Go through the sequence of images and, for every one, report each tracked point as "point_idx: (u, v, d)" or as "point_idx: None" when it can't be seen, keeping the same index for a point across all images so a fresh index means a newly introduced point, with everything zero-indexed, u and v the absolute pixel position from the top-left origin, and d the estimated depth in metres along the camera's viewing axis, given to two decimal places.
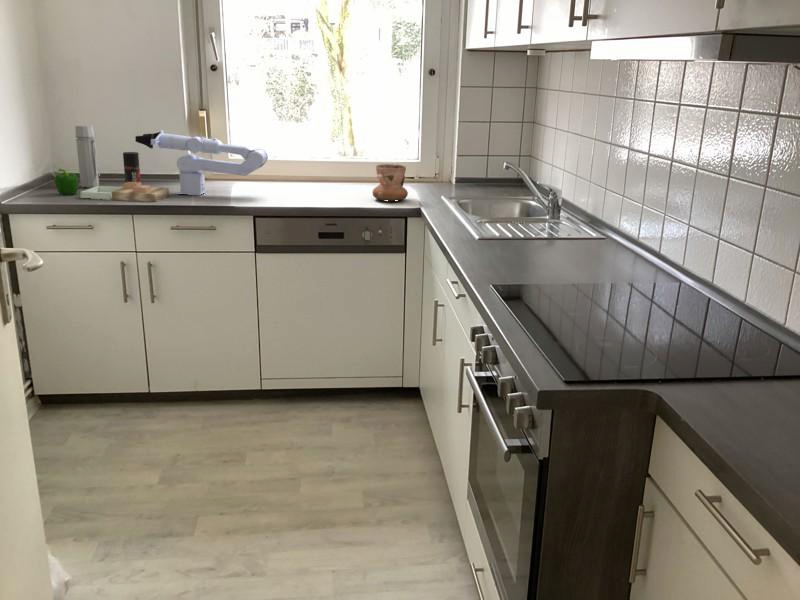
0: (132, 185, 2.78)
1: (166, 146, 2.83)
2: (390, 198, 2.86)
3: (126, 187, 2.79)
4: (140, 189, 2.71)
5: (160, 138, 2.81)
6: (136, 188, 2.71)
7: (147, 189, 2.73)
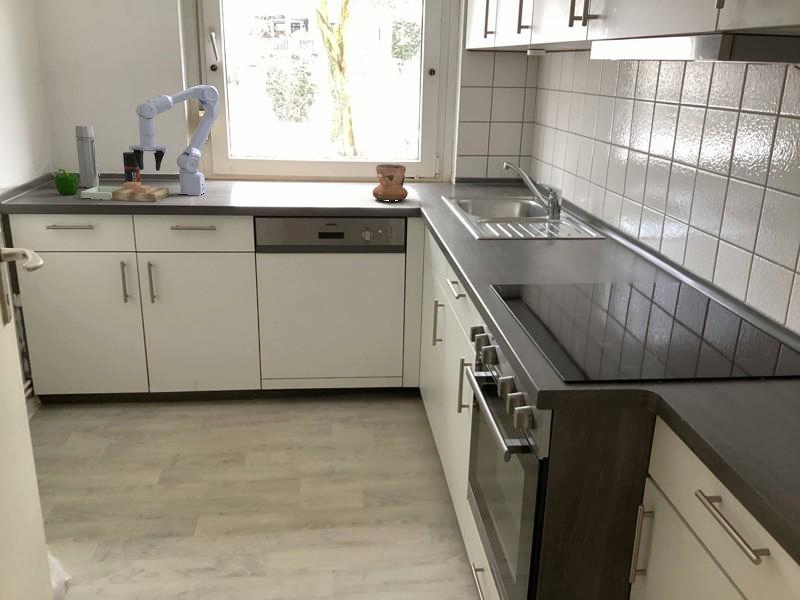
0: (132, 185, 2.78)
1: None
2: (390, 198, 2.86)
3: (126, 187, 2.79)
4: (140, 189, 2.71)
5: (153, 146, 2.74)
6: (136, 188, 2.71)
7: (147, 189, 2.73)
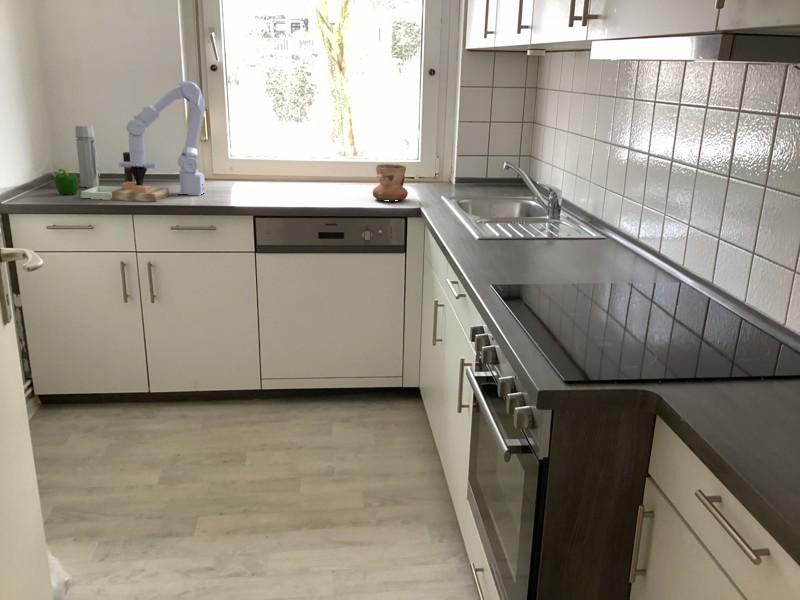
0: (131, 185, 2.78)
1: None
2: (390, 198, 2.86)
3: (124, 187, 2.79)
4: (140, 189, 2.71)
5: (143, 162, 2.77)
6: (136, 188, 2.71)
7: (147, 189, 2.73)
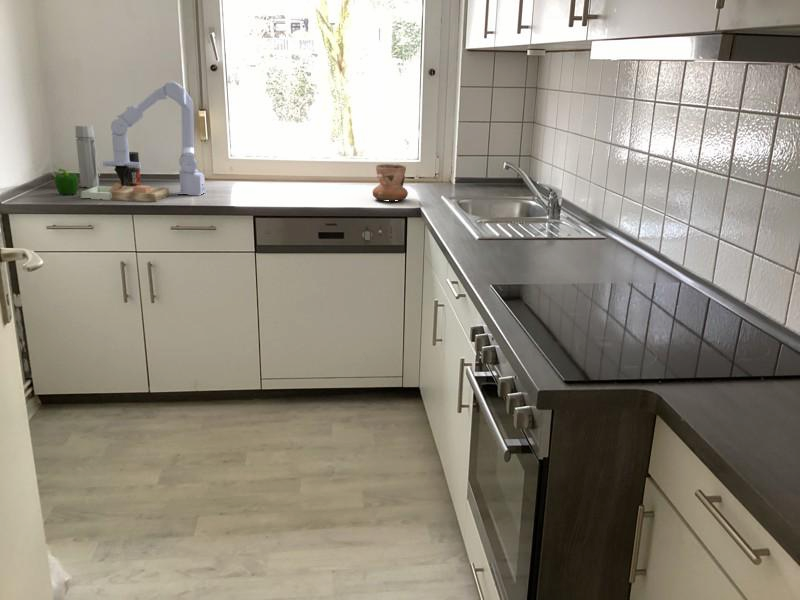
0: (115, 186, 2.78)
1: None
2: (390, 198, 2.86)
3: None
4: (140, 189, 2.71)
5: (127, 162, 2.77)
6: (136, 188, 2.71)
7: (147, 189, 2.73)
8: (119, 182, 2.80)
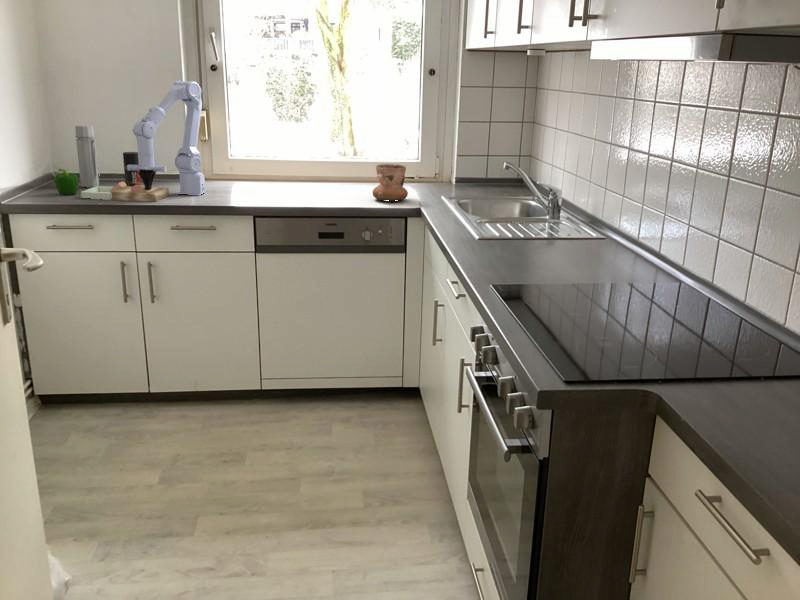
0: (116, 186, 2.78)
1: None
2: (390, 198, 2.86)
3: None
4: (138, 189, 2.71)
5: (152, 165, 2.70)
6: (134, 188, 2.71)
7: (145, 189, 2.73)
8: (121, 183, 2.80)
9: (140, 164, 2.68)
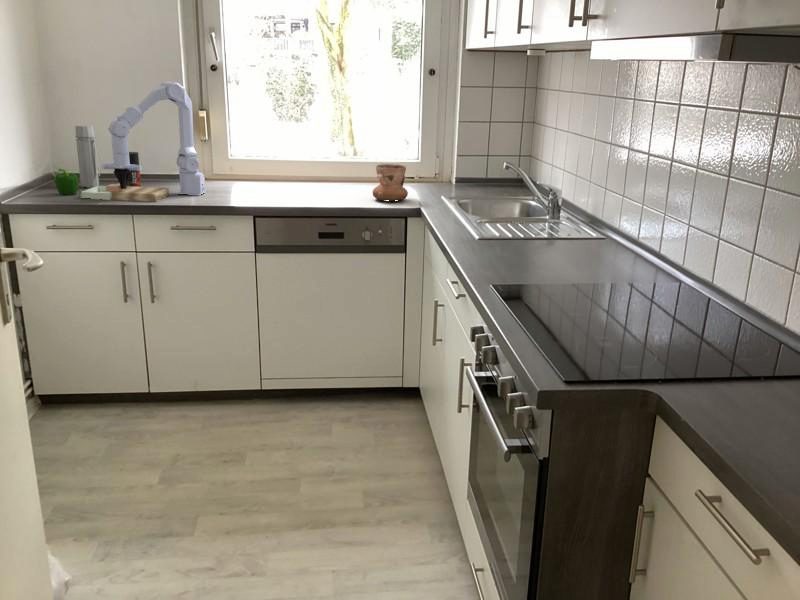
0: None
1: None
2: (390, 198, 2.86)
3: None
4: (113, 188, 2.72)
5: (127, 164, 2.70)
6: (109, 187, 2.72)
7: (120, 187, 2.73)
8: None
9: (115, 163, 2.69)
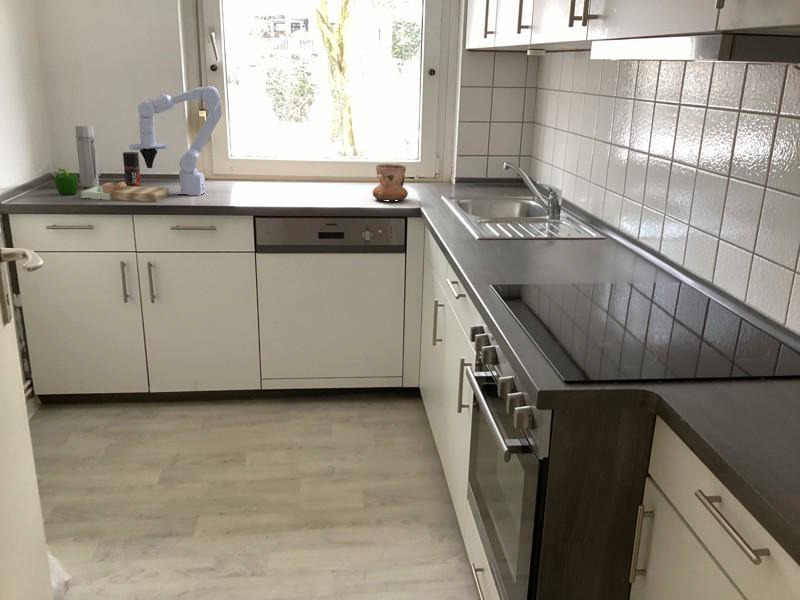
0: (116, 186, 2.78)
1: None
2: (390, 198, 2.86)
3: None
4: (104, 190, 2.72)
5: (155, 144, 2.82)
6: None
7: (106, 184, 2.73)
8: (121, 183, 2.80)
9: (147, 143, 2.78)
